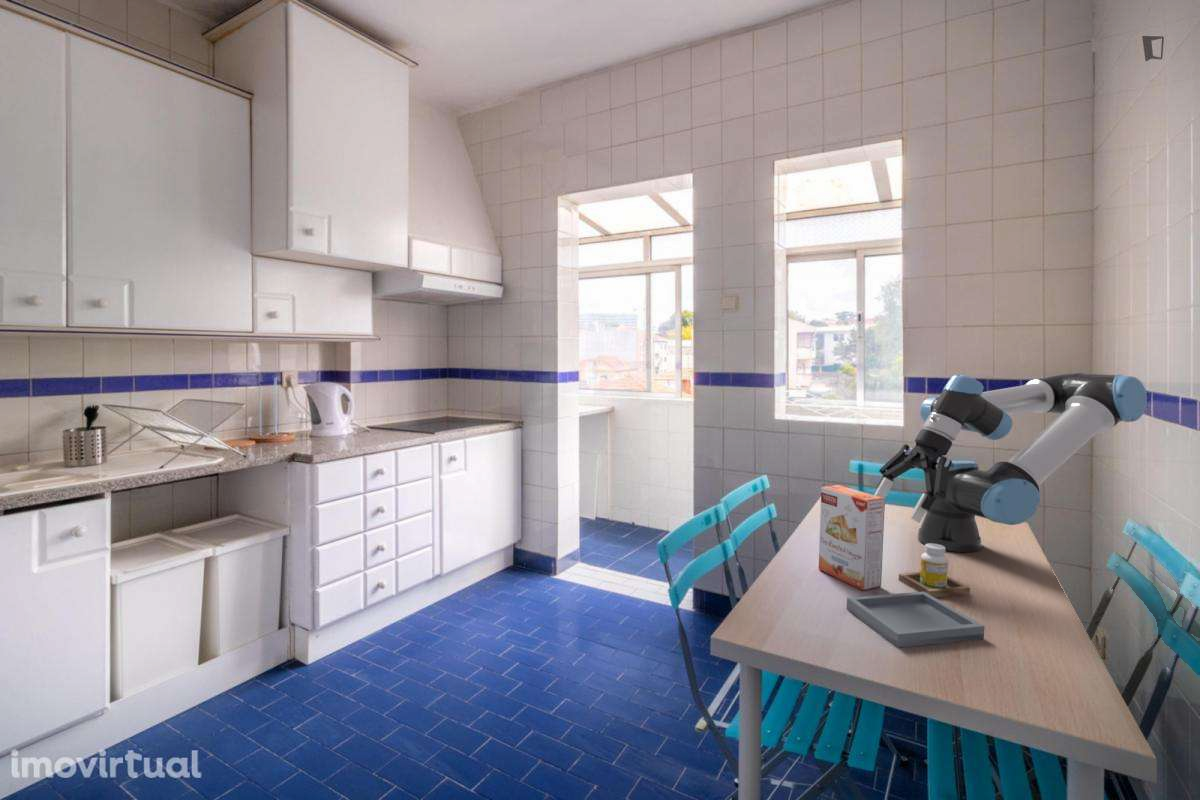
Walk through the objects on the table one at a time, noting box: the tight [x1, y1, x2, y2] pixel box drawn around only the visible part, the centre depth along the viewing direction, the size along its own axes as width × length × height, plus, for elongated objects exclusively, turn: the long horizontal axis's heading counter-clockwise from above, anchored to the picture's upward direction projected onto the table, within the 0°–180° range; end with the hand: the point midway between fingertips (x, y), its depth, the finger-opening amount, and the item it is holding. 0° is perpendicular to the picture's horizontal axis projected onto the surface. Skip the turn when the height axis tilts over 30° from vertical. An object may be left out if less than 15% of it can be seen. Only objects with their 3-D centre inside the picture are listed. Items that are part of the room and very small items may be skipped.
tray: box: [846, 591, 986, 648], centre depth 119 cm, size 18×16×2 cm
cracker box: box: [818, 484, 886, 591], centre depth 140 cm, size 14×6×21 cm, turn 23°
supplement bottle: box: [919, 543, 949, 589], centre depth 136 cm, size 5×5×10 cm
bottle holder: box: [898, 571, 971, 598], centre depth 136 cm, size 10×10×2 cm
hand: (894, 510), depth 148 cm, fingers open, 13 cm apart
